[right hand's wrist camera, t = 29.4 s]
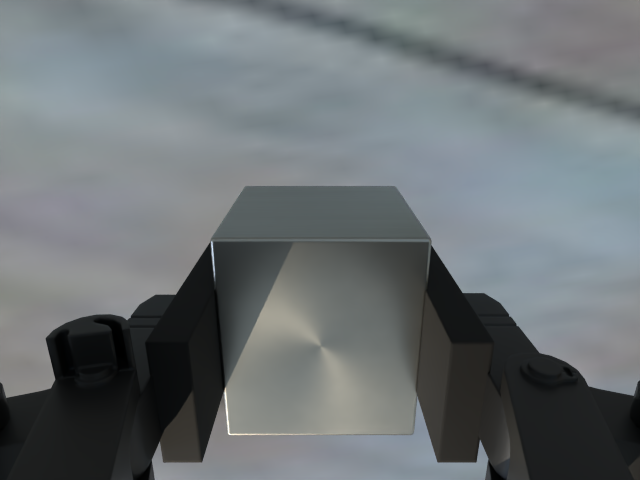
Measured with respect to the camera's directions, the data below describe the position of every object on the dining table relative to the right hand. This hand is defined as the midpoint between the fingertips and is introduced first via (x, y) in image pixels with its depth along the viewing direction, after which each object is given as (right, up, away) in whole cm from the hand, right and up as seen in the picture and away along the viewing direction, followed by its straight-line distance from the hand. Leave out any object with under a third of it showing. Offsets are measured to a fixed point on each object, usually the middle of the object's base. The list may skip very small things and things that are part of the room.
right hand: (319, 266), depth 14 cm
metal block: (0, 0, 0) cm, 0 cm away
